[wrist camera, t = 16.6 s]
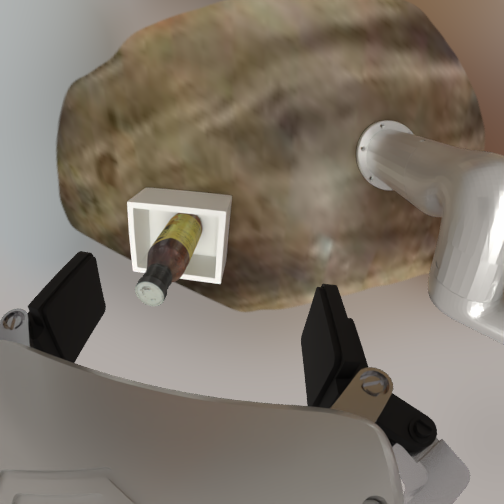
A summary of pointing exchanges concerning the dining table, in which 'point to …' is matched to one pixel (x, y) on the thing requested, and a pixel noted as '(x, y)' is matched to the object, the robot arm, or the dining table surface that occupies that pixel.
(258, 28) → the dining table surface
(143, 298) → the sauce bottle
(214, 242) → the storage box
